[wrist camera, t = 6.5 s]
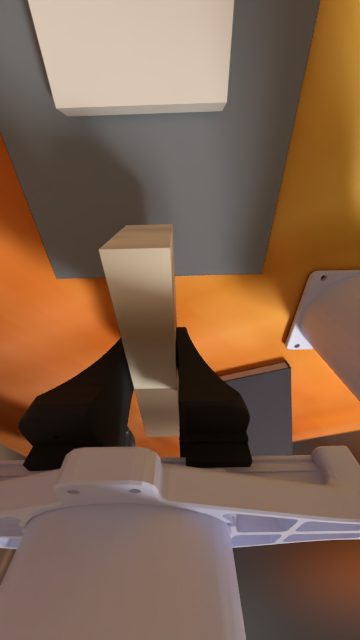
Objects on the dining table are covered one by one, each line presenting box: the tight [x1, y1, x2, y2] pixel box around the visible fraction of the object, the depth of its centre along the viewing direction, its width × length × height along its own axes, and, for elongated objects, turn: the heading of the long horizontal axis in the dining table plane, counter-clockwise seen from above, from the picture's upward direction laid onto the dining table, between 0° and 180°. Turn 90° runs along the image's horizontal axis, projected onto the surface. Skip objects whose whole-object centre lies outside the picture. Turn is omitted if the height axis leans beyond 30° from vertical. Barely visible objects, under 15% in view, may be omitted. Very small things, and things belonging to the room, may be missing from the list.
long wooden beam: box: [99, 224, 179, 437], centre depth 13 cm, size 14×2×4 cm, turn 1°
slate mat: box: [0, 0, 320, 279], centre depth 11 cm, size 16×18×1 cm
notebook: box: [220, 361, 292, 456], centre depth 28 cm, size 13×2×21 cm
